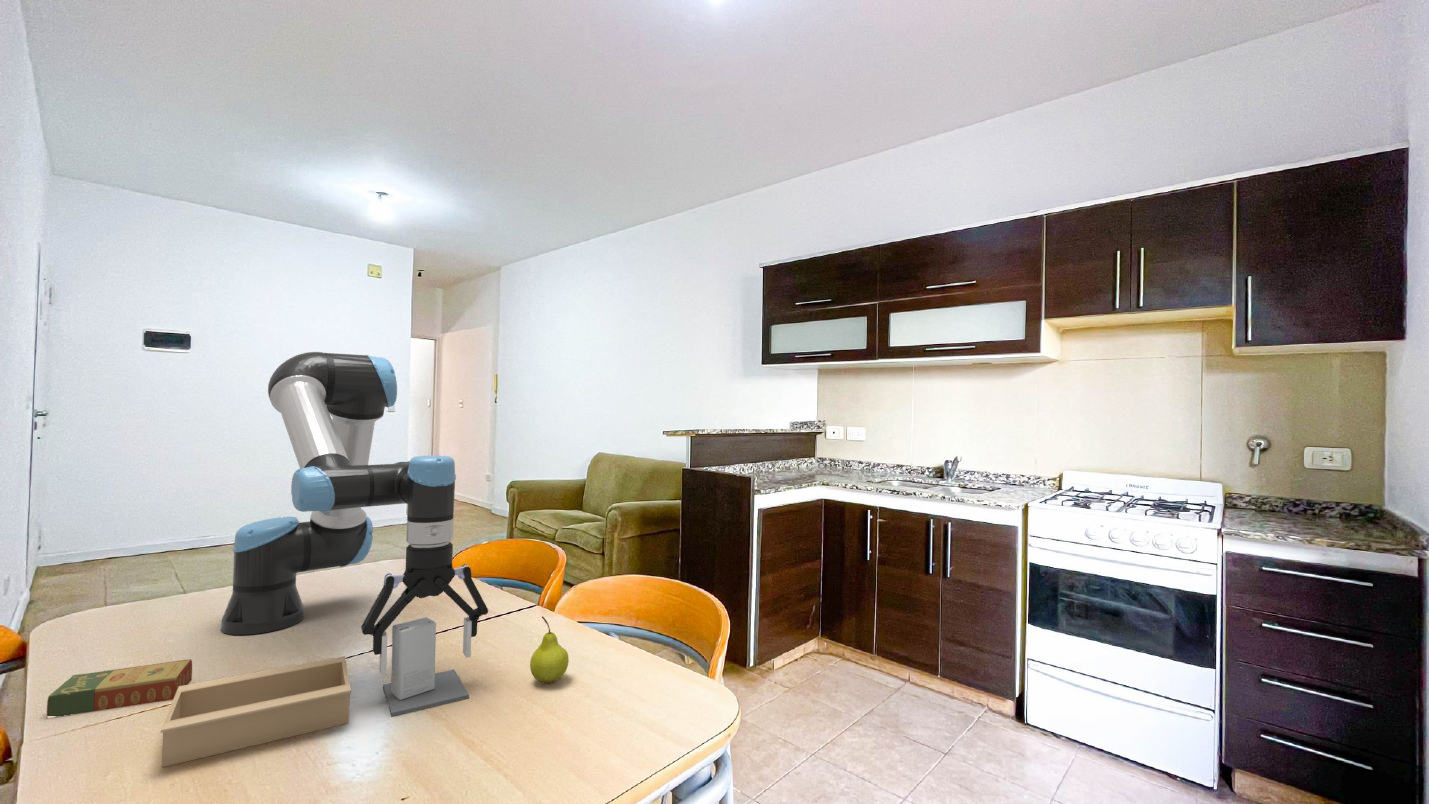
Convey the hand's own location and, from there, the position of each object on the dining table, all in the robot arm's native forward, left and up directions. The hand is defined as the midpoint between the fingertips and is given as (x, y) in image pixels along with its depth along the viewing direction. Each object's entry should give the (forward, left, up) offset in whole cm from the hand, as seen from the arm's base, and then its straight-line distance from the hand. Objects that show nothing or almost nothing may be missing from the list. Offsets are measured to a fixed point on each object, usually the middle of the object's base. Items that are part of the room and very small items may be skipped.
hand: (426, 663), depth 106 cm
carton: (-25, -43, -6) cm, 50 cm away
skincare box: (0, -2, -5) cm, 5 cm away
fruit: (+7, +20, -5) cm, 22 cm away
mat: (0, 0, -5) cm, 5 cm away
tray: (-1, -23, -5) cm, 24 cm away
